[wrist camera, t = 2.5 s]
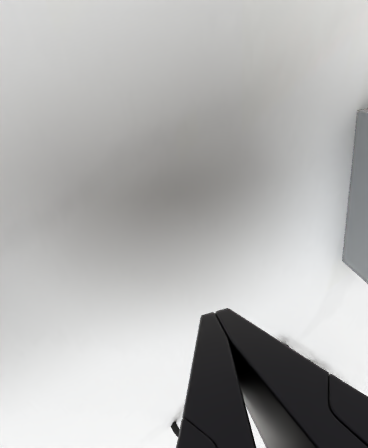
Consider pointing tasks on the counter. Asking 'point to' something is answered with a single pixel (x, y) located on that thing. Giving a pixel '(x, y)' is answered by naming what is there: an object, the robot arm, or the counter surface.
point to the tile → (358, 202)
